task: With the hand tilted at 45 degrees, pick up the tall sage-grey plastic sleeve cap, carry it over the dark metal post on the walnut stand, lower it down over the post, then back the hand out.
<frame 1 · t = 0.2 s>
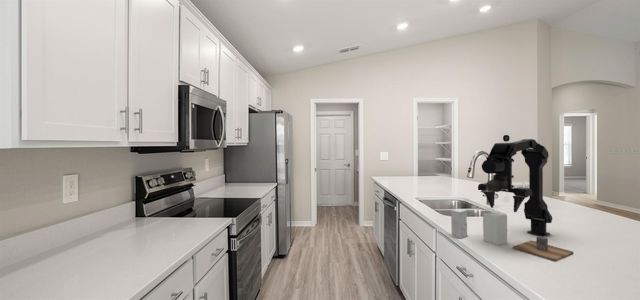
hand: (503, 209, 112), 15 cm above the worktop, tool pointing down, fingers open, 9 cm apart
skincare box: (459, 236, 124), on the worktop
post stand: (542, 251, 105), on the worktop
sleeve cap: (495, 241, 116), on the worktop
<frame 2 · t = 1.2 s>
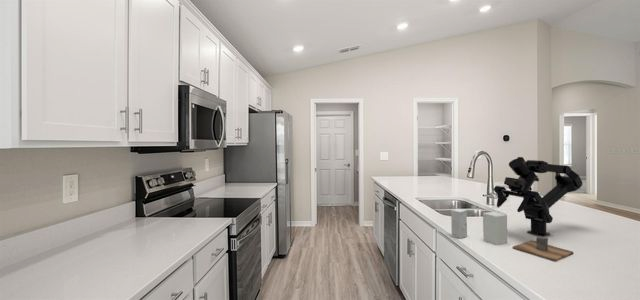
hand: (507, 209, 118), 13 cm above the worktop, tool tilted 45°, fingers open, 9 cm apart
nothing on the worktop moved.
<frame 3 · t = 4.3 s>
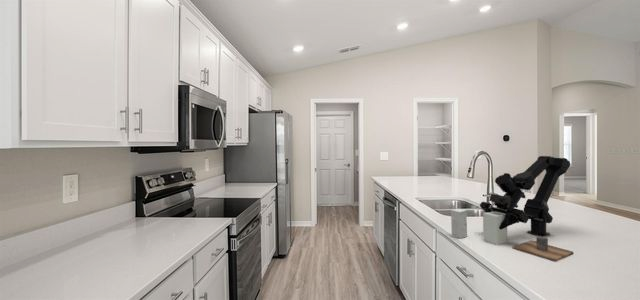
hand: (492, 226, 116), 7 cm above the worktop, tool tilted 45°, fingers closed on sleeve cap, 6 cm apart
sleeve cap: (495, 241, 116), on the worktop, touching gripper
everything else where it was.
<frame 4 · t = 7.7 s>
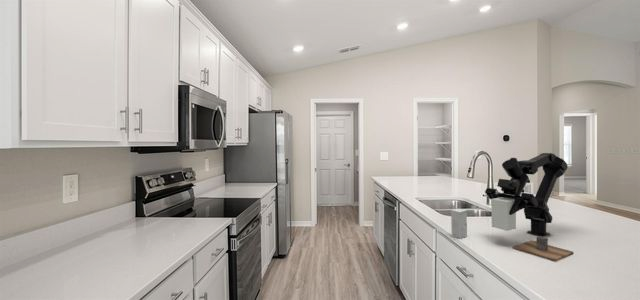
hand: (501, 212, 113), 14 cm above the worktop, tool tilted 45°, fingers closed on sleeve cap, 6 cm apart
sleeve cap: (503, 227, 113), point 7 cm above the worktop, touching gripper
everything else where it was.
when the fingers open (9 cm above the worktop, at t = 11.4 s): sleeve cap drops 1 cm, resting on post stand.
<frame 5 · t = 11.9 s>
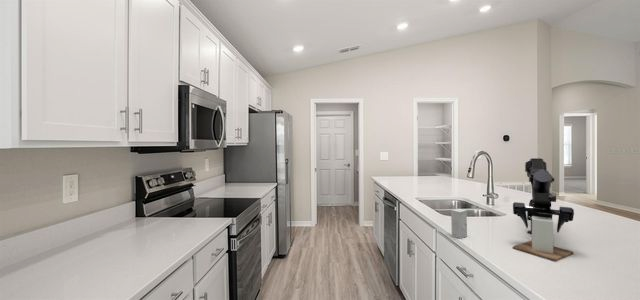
hand: (542, 229, 104), 9 cm above the worktop, tool tilted 45°, fingers open, 9 cm apart
sleeve cap: (542, 249, 105), point 1 cm above the worktop, touching post stand
everything else where it was.
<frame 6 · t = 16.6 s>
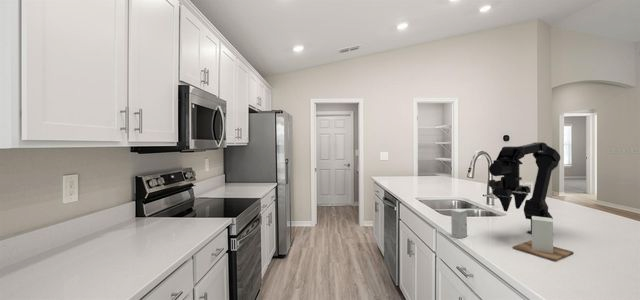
hand: (511, 210, 118), 13 cm above the worktop, tool pointing down, fingers open, 9 cm apart
nothing on the worktop moved.
at the end: sleeve cap 0.0 cm from the post stand (horizontally); sleeve cap point 0.8 cm above the worktop; the gripper is holding nothing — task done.
